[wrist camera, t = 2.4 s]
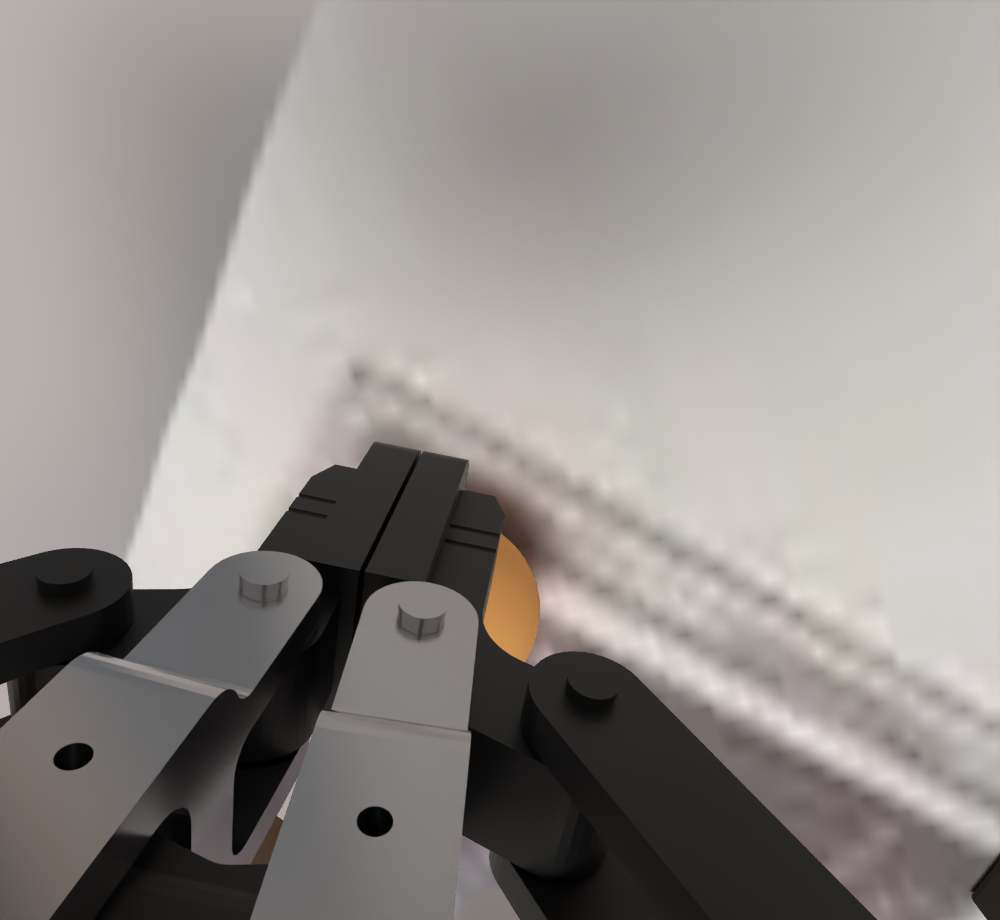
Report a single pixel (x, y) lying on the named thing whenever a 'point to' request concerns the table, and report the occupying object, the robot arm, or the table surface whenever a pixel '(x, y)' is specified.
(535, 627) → the ball
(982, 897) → the phone stand
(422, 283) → the table surface
